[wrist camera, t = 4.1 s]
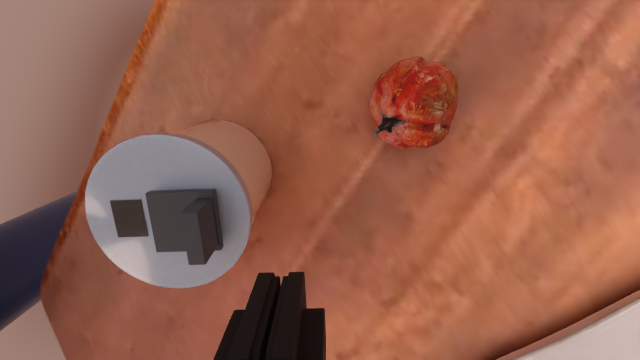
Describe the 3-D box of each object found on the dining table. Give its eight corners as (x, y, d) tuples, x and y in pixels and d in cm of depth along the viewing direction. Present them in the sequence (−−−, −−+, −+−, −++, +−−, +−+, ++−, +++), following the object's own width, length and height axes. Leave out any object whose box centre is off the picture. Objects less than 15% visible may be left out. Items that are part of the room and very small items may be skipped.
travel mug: (177, 222, 35) (103, 291, 23) (159, 118, 32) (64, 138, 20) (280, 219, 34) (257, 287, 23) (271, 113, 31) (240, 131, 20)
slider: (160, 248, 22) (135, 273, 19) (149, 190, 21) (120, 207, 18) (224, 246, 22) (208, 271, 19) (216, 188, 21) (198, 205, 18)
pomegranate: (411, 51, 32) (333, 76, 27) (486, 39, 26) (406, 67, 21) (419, 125, 35) (350, 160, 30) (489, 129, 29) (419, 173, 24)
